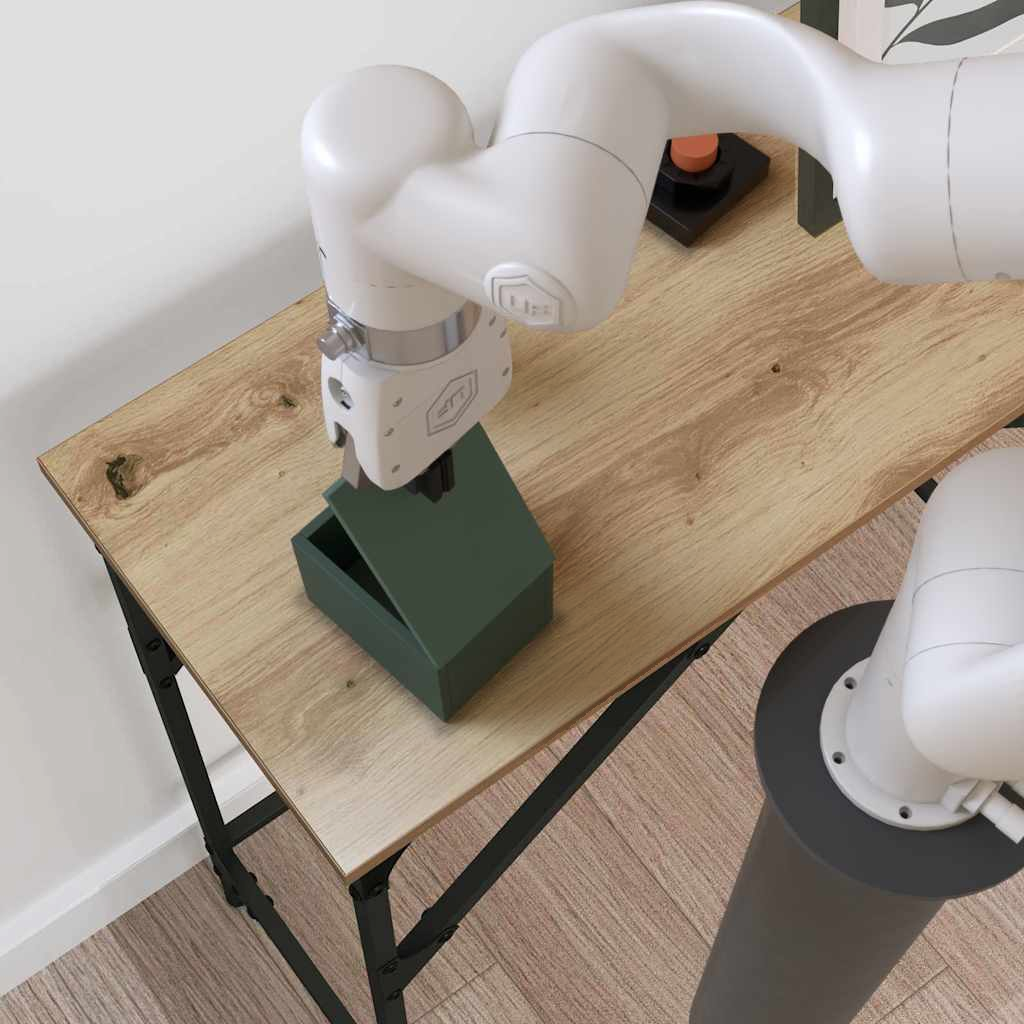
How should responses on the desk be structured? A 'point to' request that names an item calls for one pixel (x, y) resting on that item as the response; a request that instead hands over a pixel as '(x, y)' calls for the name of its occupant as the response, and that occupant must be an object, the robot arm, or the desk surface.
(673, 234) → the push button base
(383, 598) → the green box
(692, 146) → the button
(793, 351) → the desk surface
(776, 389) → the desk surface
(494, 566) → the box lid
